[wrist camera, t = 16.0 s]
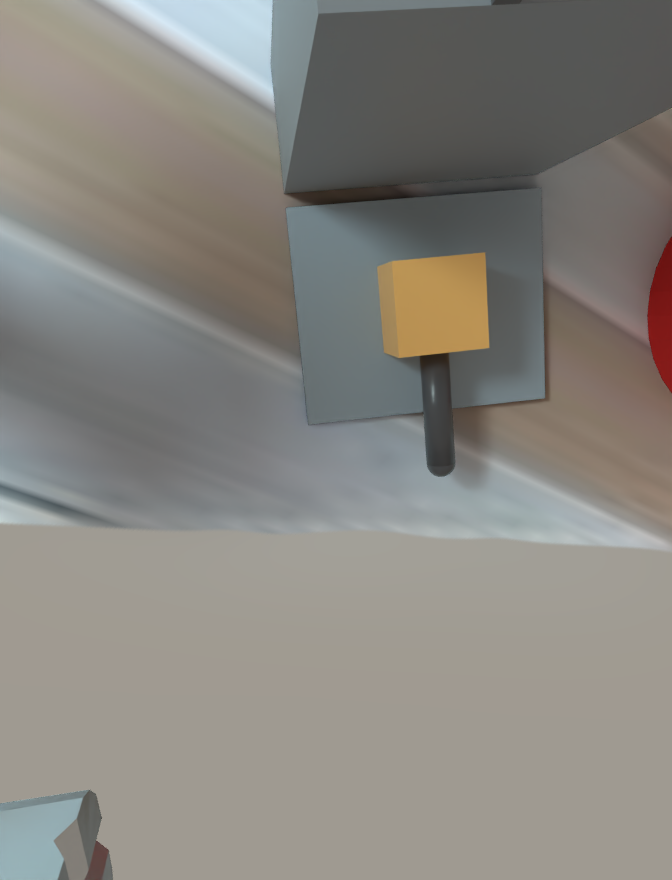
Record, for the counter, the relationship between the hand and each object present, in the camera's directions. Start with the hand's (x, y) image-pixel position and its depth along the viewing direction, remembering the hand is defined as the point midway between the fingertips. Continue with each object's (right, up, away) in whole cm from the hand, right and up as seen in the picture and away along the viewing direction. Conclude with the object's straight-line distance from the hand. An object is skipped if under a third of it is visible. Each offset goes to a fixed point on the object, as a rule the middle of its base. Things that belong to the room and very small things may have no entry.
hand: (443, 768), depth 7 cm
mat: (+5, +14, +37) cm, 40 cm away
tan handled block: (+5, +9, +37) cm, 39 cm away
